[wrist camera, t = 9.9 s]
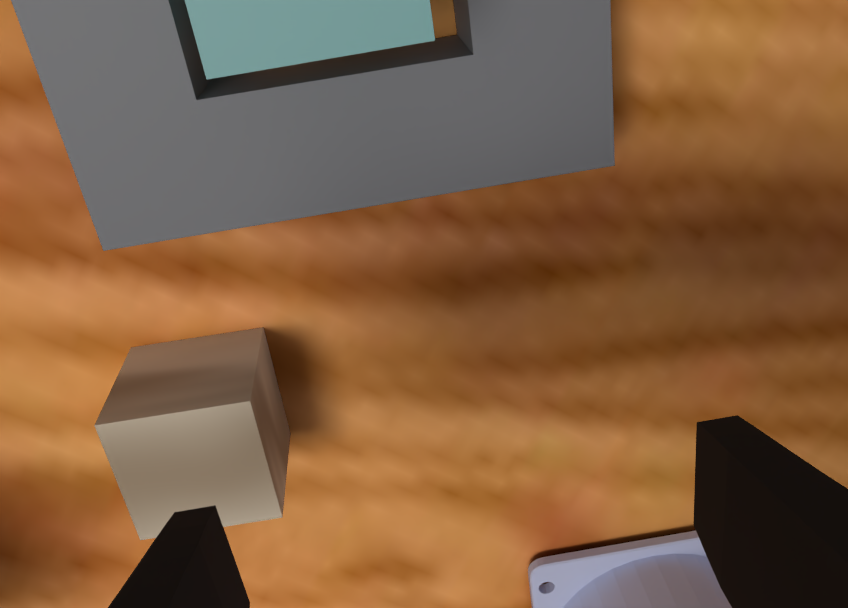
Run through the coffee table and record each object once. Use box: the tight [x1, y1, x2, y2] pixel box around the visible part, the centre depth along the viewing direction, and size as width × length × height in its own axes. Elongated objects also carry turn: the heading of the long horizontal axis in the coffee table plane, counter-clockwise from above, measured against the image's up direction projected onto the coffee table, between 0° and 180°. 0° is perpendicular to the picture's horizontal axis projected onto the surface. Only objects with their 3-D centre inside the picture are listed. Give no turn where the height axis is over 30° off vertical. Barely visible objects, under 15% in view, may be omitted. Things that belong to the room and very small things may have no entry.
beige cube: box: [95, 327, 290, 540], centre depth 20 cm, size 4×4×4 cm
